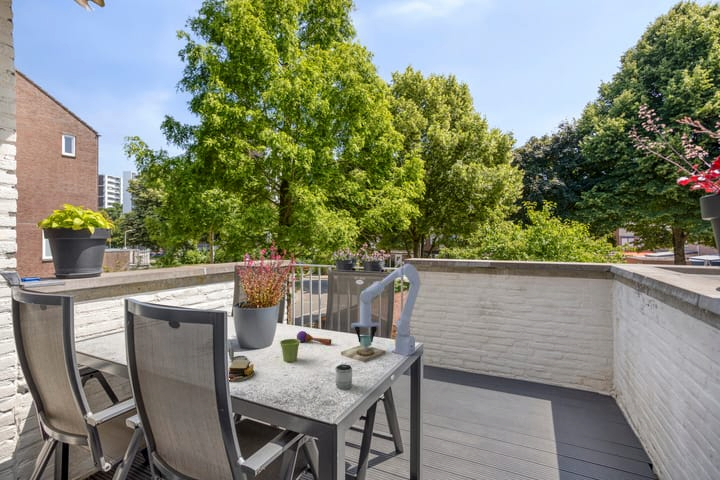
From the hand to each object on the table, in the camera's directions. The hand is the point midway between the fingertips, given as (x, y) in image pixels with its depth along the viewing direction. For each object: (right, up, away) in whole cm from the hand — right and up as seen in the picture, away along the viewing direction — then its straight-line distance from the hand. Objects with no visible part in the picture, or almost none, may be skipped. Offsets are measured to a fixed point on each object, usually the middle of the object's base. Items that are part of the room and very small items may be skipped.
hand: (365, 341), depth 173 cm
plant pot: (-35, -5, -13) cm, 38 cm away
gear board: (-1, -5, -4) cm, 7 cm away
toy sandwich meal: (-53, -5, -31) cm, 62 cm away
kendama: (-28, -5, +14) cm, 32 cm away
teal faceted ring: (0, -1, 0) cm, 1 cm away
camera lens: (-9, -5, -42) cm, 43 cm away
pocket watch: (-60, -5, -13) cm, 62 cm away
